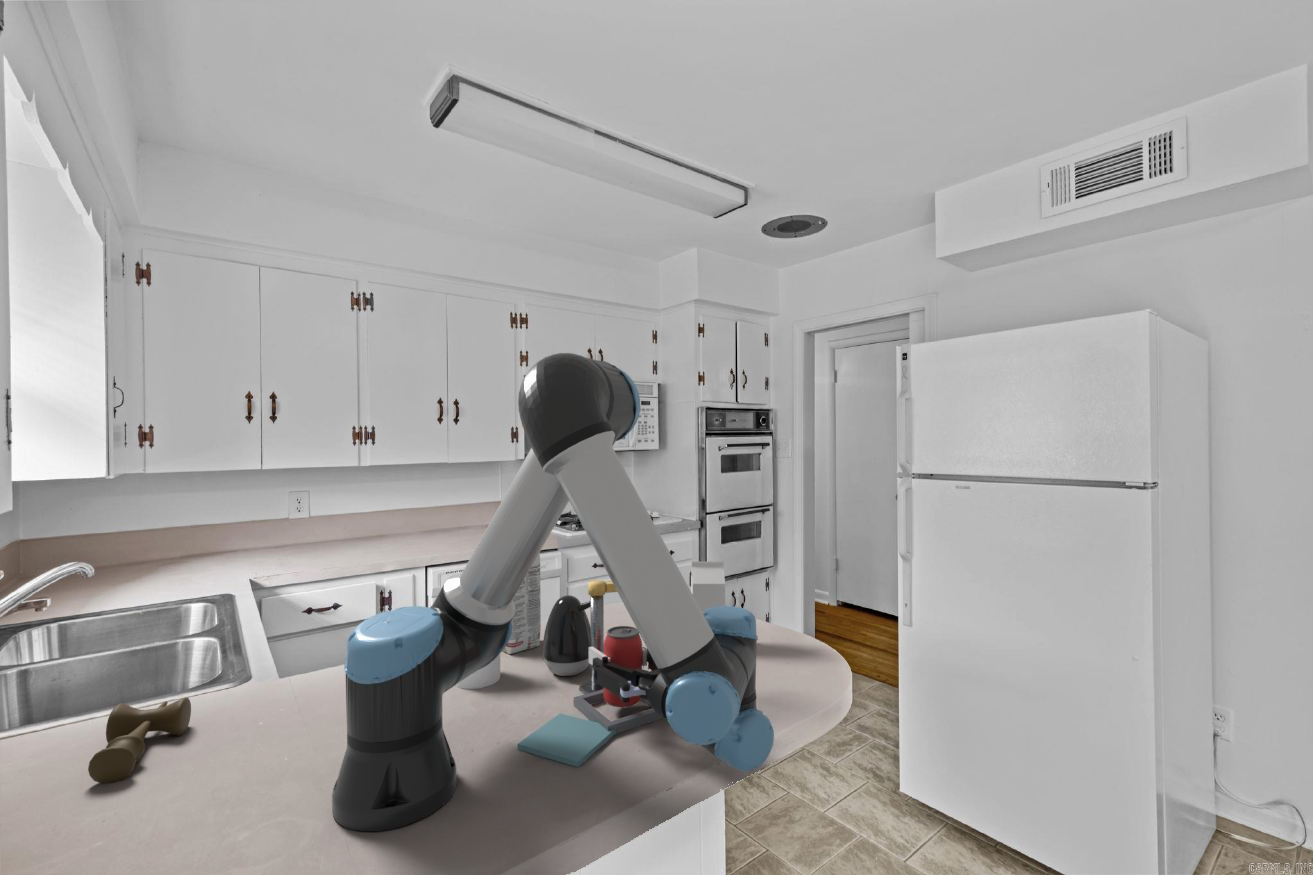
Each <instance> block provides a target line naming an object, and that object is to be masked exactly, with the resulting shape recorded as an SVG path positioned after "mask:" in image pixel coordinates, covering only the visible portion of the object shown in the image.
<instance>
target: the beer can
mask: <svg viewBox="0 0 1313 875" xmlns="http://www.w3.org/2000/svg"><path fill="white" fill-rule="evenodd" d="M642 641H643V640H642V637H641V635H640V633H639V632H638V630H637V628H636V627H635V626H627V625H618V626H613V627H610V628H609V629H607V631H606V637H605V639H604V654H605V655H606V656H607V657H609V658H611V659H610V662H612V663H615V664H618V665H621V666H624V667H627V668H630V669H633V670H636V669H638V668H640V669H643V666H642V647H643V642H642ZM604 700H605V701H604V702H605V703H607V705H609V706H610V707H611V706H612V707H616V708H629V707H633V706H635V705H637V704H638V703H639V702H640V701H642V700H641V698H640V697H639V695H638V696H631V698H630V701H629V702H628V703H624V702H622V701H621V699H620V697H619V696H617V695H616V694H614V693H612V692H611V691H609V690H607V689H606V688H604Z"/></svg>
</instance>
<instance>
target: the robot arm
mask: <svg viewBox="0 0 1313 875" xmlns="http://www.w3.org/2000/svg"><path fill="white" fill-rule="evenodd" d="M517 406H518V412H519V413H518V414H519V417H520V421H521V425H522V426H521V427H522V428H523V430H524V434H525V437H526V439H527V441H528V442H529V445H530V447H531V448H530V450H529V451H528V453H527V455H526V457H525V458H524V460H523V462H522V464H521V466H520V468H518V471H517V473H516V475H515V477H514V478H513V480H512V482H511V484H510V486H509V488H508V490H507V491H506V493H505V495H504V497H503V498H502V501H501V502H500V504H499V506H498V507H497V509H496V511H495V513H494V515H492V516H493V517H492V518H491V520H490V522H489V524H488V526H487V527H486V529H485V531H484V533H483V534H482V536H481V538H480V540H479V542H478V544H477V546H476V548H475V549H474V551H473V553H471V556H470V558H469V560H468V562H467V563H466V565H465V567H464V569H463V571H462V573H457V574H456V573H455V574H454V575H451V576H449V577H448V578H447V579H446V580H445V582H444V584H443V585H442V587H441V589H440V590H439V592H438V595H437V596H436V598H435V600H434V601H433V604H431V606H430V607H427V606H418V605H416V606H415V605H414V606H411V605H410V606H403V607H398V608H397V607H396V608H395V609H394V610H386V611H382V612H379V613H377V614H375V615H372V616H370V617H368V618H366V619H365V620H362V622H360V623H359V624H357V626H356V627H355V628H354V629H353V630H352V631H351V632H350V635H349V636H348V639H347V643H346V656H345V658H344V660H345V661H344V671H345V700H346V701H345V702H346V703H345V704H346V707H345V708H346V741H347V742H346V749H345V752H344V755H343V758H342V762H341V766H340V768H339V769H340V770H339V773H338V777H337V779H336V781H335V783H334V786H333V788H332V793H331V810H332V813H331V814H332V816H333V819H334V820H335V821H336V822H337V823H338V824H339V825H341V826H342V827H344V828H347V829H350V830H353V831H354V830H355V831H359V832H360V831H361V832H379V831H386V830H387V831H388V830H393V829H397V828H401V827H404V826H407V825H410V824H413V823H415V822H418V821H420V820H422V819H425V818H426V817H428V816H430V815H431V814H433V813H435V812H436V811H438V810H439V809H440V808H442V807H443V806H444V805H445V804H446V803H447V802H448V801H449V800H450V798H452V796H453V795H454V793H455V790H456V788H457V765H456V760H455V758H454V757H453V754H452V751H451V748H450V743H449V741H448V740H447V737H446V734H445V731H444V728H443V694H445V693H446V692H447V691H449V690H450V689H452V688H454V687H456V686H455V685H456V684H458V683H459V682H461V681H462V680H464V679H465V678H467V677H468V676H470V675H471V674H473V673H474V672H476V671H477V670H479V669H481V668H483V667H485V666H487V665H488V664H490V663H491V661H494V660H495V659H496V658H497V657H498V655H499V654H500V655H501V653H502V652H504V651H503V650H504V648H505V647H506V645H507V643H508V641H509V639H510V636H511V632H512V622H511V620H512V619H513V617H514V614H515V605H514V602H513V600H512V599H513V597H514V595H515V594H516V592H517V590H518V589H519V587H520V585H521V583H522V582H523V580H524V578H525V576H526V575H527V573H528V571H529V569H530V568H531V566H532V564H533V563H534V561H535V559H536V557H537V556H538V554H539V553H540V552H541V551H542V548H543V547H544V545H545V544H546V542H547V540H548V539H549V537H550V535H551V534H552V531H553V530H554V527H555V526H556V524H557V523H558V521H559V519H560V517H561V516H562V514H563V512H564V510H565V509H566V507H567V505H568V503H570V505H571V506H572V508H573V511H574V512H575V514H576V516H577V518H578V520H579V522H580V524H581V525H582V527H583V530H584V531H585V533H586V535H587V537H588V539H589V541H590V542H591V545H592V547H593V548H594V550H595V552H596V554H597V555H598V558H599V559H600V561H601V563H602V565H603V567H604V569H605V571H606V573H607V575H608V576H609V579H610V580H611V582H613V584H614V586H615V588H616V590H617V592H616V593H617V594H618V595H619V598H620V599H621V601H622V603H623V605H624V606H625V607H624V608H625V609H626V610H627V612H628V615H629V617H630V618H631V620H632V622H633V624H634V627H635V628H636V629H637V630H638V632H639V635H640V638H641V640H642V641H643V643H644V644H645V647H644V646H642V667H646V666H647V670H645V669H643V668H642V669H640V668H638V669H636V670H633V669H630V668H627V667H624V666H621V665H618V664H615V663H612V662H610V659H611V658H609V657H607V656H606V655H605V654H603V653H602V652H600V651H599V650H597V649H596V648H594V647H593V646H592V647H589V664H590V666H591V665H593V668H594V682H596V683H598V684H599V685H601V686H602V687H604V688H606V689H607V690H609V691H611V692H612V693H614V694H616V695H617V696H619V697H620V699H621V701H622V702H624V703H628V702H629V701H630V698H631V696H638V695H639V697H640V698H642V699H646V700H648V701H649V702H650V704H651V705H652V707H651V708H653V709H654V710H655V711H656V713H658V714H659V715H660V716H662V717H663V718H662V719H664V720H666V722H668V724H669V726H670V727H671V729H672V730H673V732H675V734H676V735H677V736H679V737H680V738H681V739H683V740H684V741H686V742H688V743H691V744H694V745H699V746H702V747H703V748H704V749H706V750H707V751H708V752H710V753H711V754H712V755H713V756H715V758H716V759H718V760H719V761H721V762H724V763H725V764H726V765H728V766H729V767H731V768H733V769H736V770H737V771H741V772H751V771H753V770H756V769H758V768H759V767H761V766H762V765H763V763H765V762H766V760H767V758H769V756H770V754H771V751H772V749H773V746H774V740H775V731H774V727H773V724H772V722H771V720H770V719H769V718H768V717H767V715H765V714H764V713H763V711H761V710H759V709H757V689H756V683H757V681H756V680H757V678H756V677H757V641H758V639H759V637H758V634H757V618H756V616H755V614H753V612H751V611H750V610H748V609H746V608H742V607H739V606H731V605H725V606H716V607H711V608H708V609H706V610H705V611H704V612H703V613H702V611H701V609H700V607H699V606H698V604H697V602H696V600H695V598H694V596H693V595H692V593H691V588H690V587H689V585H688V583H687V581H686V580H685V579H684V576H683V574H682V573H681V570H680V569H679V567H678V566H677V563H676V562H675V560H674V558H673V556H672V554H671V552H670V550H669V548H668V547H667V545H666V543H665V542H664V539H663V538H662V536H661V534H660V532H659V530H658V529H657V526H656V525H655V523H654V521H653V520H652V518H651V516H650V514H649V512H648V510H647V508H646V506H645V505H644V502H643V500H642V499H641V497H640V495H639V494H638V491H637V490H636V487H635V486H634V484H633V482H632V480H631V478H630V477H629V474H628V473H627V472H626V470H625V467H624V466H623V464H622V462H621V460H620V458H619V456H618V454H617V453H616V451H615V449H614V447H613V446H614V445H615V443H616V442H619V441H620V440H622V439H624V438H625V437H626V436H627V435H628V434H629V433H630V432H632V431H633V429H634V427H635V426H636V424H637V423H638V419H639V416H640V412H641V398H640V393H639V390H638V387H637V385H636V384H635V382H634V380H633V379H632V377H631V376H629V374H627V373H626V372H625V371H624V370H622V368H619V367H617V366H616V365H613V364H611V363H610V362H608V361H604V360H598V359H594V358H589V357H585V356H583V355H580V354H577V353H571V352H559V353H555V354H551V355H548V356H545V357H543V358H542V359H539V361H537V362H536V363H535V364H534V365H532V367H530V369H529V370H528V371H527V372H526V373H525V375H524V378H523V379H522V381H521V384H520V388H519V392H518V400H517ZM649 670H650V671H649Z"/></svg>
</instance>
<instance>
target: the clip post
mask: <svg viewBox="0 0 1313 875" xmlns="http://www.w3.org/2000/svg"><path fill="white" fill-rule="evenodd" d="M589 596H590V600H589V601H590V603H591V607H590V627H591V647H592V646H593V647H594V648H596V649H597V650H599V651H600V652H602V653H603V654H604V641H605V639H604V637H605V634H604V632H605V630H604V623H605V622H604V621H605V620H604V619H605V618H604V617H605V616H604V614H605V613H604V612H605V611H604V609H605V608H604V606H605V604H604V596H605V595H601V596H591V595H589ZM603 689H604V687H602V686H601V685H599V684H598V683H596V682H594V668H593V665H591V664H590V682H588V683H585V684H584V683H583V684H580V685H579V686H578V690H579V691H580V692H581V693H582V694H583V695H584V694H588V693H592V692H595V691H599V690H603Z"/></svg>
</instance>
